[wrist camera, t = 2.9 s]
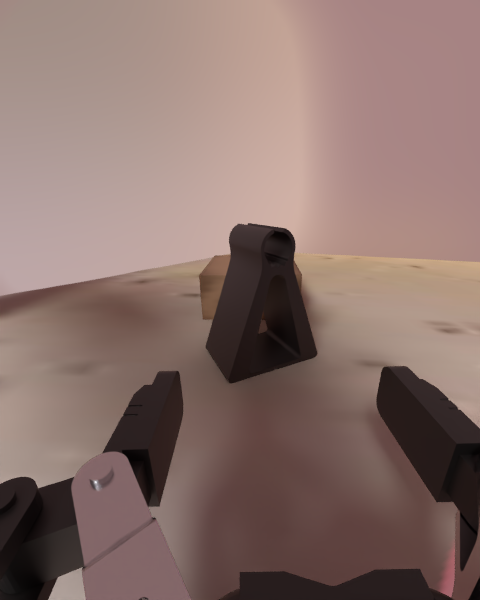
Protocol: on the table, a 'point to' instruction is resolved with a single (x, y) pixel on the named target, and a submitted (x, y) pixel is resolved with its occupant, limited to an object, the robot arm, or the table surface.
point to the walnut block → (220, 284)
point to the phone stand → (260, 306)
